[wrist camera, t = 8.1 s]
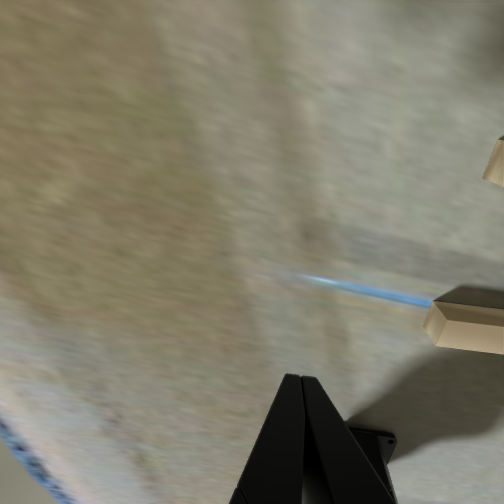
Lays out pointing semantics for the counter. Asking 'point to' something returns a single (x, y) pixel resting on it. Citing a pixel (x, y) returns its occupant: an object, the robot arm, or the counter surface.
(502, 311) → the slot rails
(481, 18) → the counter surface
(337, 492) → the robot arm
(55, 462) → the counter surface
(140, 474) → the counter surface
